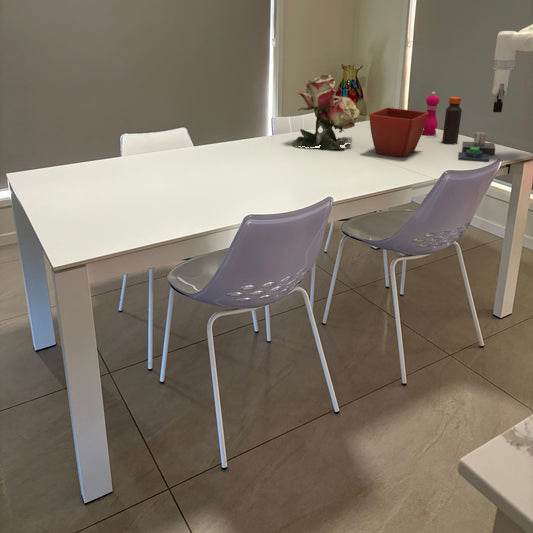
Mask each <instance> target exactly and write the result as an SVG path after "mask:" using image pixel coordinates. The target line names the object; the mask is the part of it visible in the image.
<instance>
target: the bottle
mask: <svg viewBox="0 0 533 533" xmlns="http://www.w3.org/2000/svg"><path fill="white" fill-rule="evenodd" d="M461 103H462V97H460V96H449V99H448V104H449V105H448V106H447V107H446V109H445V114H444V115H445V116H444V122H443V123H444V124H443V132H442V141H441V142H442V144H445V145H446V144H447V145H457V144H458V142H459V135H460V134H459V133H460V126H461V120H462V112H463V109H462V108H461V106H460V105H461Z"/></svg>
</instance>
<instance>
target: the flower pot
mask: <svg viewBox="0 0 533 533" xmlns="http://www.w3.org/2000/svg"><path fill="white" fill-rule="evenodd" d="M427 116H428V112H427V111H420V110H412V109H405V108H404V109H403V108H394V107H385V108H382V109H379V110H377V111H373V112H372V113H369V125H370V126H369V127H370V134H371V138H372V143H373V146H374V152H375V153H376V154H380V155H386V156H390V157H391V156H392V157H398V158H405V157H407V156H408V155H410V154H412V153H414V152H415V150H416V148H417V147H418V145H419V142H420V140H421V137H422V135H423V134H422V132H423V130H424V126H425V123H426V120H427Z"/></svg>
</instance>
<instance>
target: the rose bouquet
mask: <svg viewBox="0 0 533 533" xmlns="http://www.w3.org/2000/svg"><path fill="white" fill-rule="evenodd" d="M335 80H336V78H334V77H332V75H331V74H324V73H323V74H322V75H320V76H318V77H316V78H314V80H311V79H309V80H308V83H307V84H306V85H305V86H306V88H305V91H300V92H297V94H298V95H300V96H301V98H302V101H303V103H304V104H306V106H307V107H300V108H298V109H297V111H311V110H313V112H314V117H316V120H315V132H314V133H313V132H311V131H308V130H305V129H302V128H300V129H299V132H300V133H301V136H300V135H299V136H297V138H296V139H294V140H293V141H292V147H293V146H301V147H302V146H305V147H309V148H310V147H315V146H319V145H321V146H320V148H321V149H320V150H322V149H324V150H329V149H338V150H342V149H345V150H347V148H341V147H340V145H344V144H345V143H351V144H352V143H353V138H352V137H351V136H349V137H347V136H342V137H337V136H336V133H335V131H334V130H338V133H343V132H344V133H345V134H347V132H346V131H345V130H348V129H352V128H354V127H355V124H356V123H357V120H358V118H359V116H360V111H361V110H360V109H359V108H357V105H356V104H355V101H353V100H352V99H351V97H346V96H339V95H335V94H336V92H337V89H336V81H335ZM320 127H321V129H322V131H321V132H320V131H319V128H320ZM333 128H334V130H333ZM336 138H338V139H336ZM305 147H302V148H301V149H306V148H305Z"/></svg>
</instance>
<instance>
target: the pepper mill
mask: <svg viewBox="0 0 533 533" xmlns="http://www.w3.org/2000/svg"><path fill="white" fill-rule="evenodd" d="M425 103H426V112H428V116H427V120H426V123H425V126H424V129H423V132H422V134H421V135H424V136H428V137H429V136H430V137H431V136H436V134H437V128H438V126H439V123H438V119H437V109H438V105H439V103H440V98H439V96H438V95H436V91H432V92H431V95H430V94H429V95H428V96H427V97H426V99H425Z"/></svg>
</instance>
